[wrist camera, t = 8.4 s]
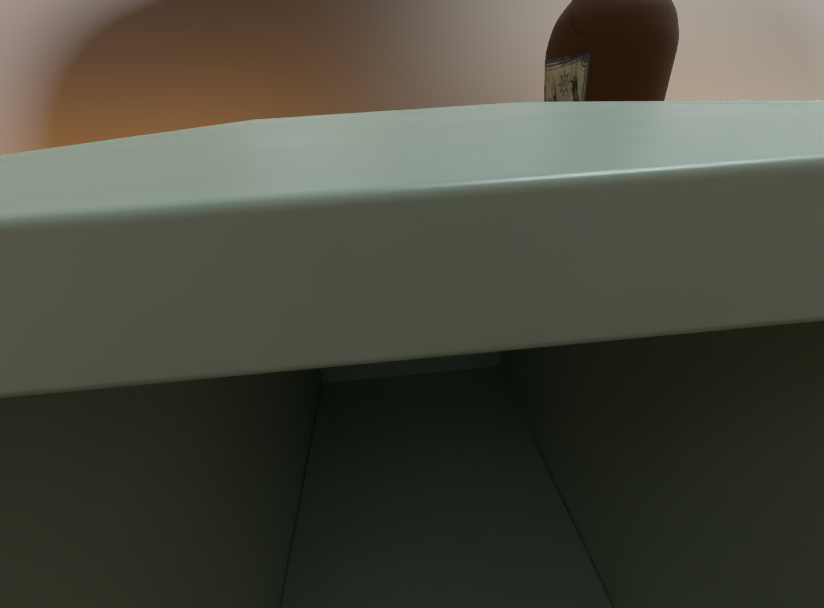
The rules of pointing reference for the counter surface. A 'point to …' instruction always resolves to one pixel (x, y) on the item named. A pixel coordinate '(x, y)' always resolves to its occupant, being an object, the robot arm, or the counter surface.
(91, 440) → the open box
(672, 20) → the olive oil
